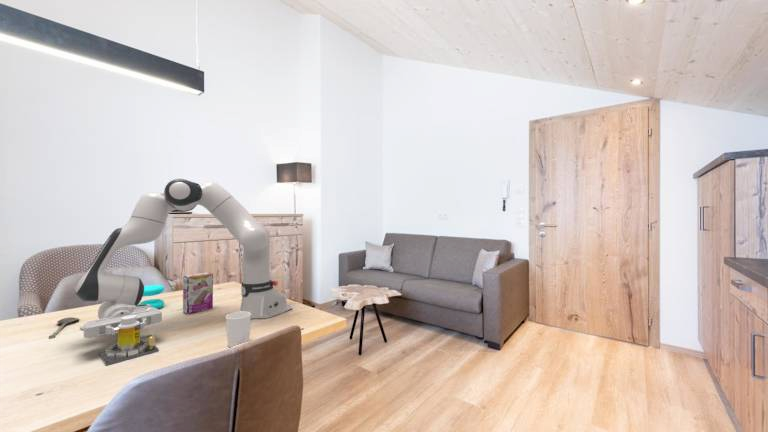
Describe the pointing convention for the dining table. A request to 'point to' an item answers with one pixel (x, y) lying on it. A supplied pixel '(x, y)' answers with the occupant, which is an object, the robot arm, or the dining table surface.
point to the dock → (128, 351)
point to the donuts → (152, 291)
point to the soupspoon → (63, 322)
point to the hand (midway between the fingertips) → (129, 328)
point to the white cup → (238, 328)
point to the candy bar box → (197, 292)
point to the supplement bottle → (128, 333)
